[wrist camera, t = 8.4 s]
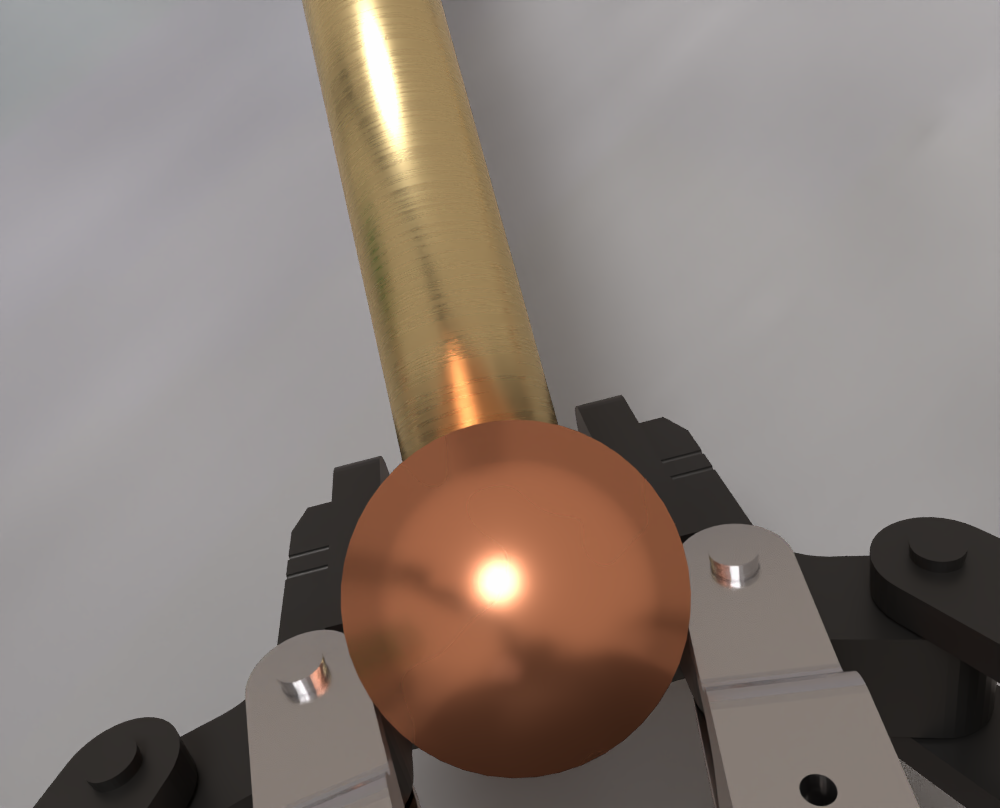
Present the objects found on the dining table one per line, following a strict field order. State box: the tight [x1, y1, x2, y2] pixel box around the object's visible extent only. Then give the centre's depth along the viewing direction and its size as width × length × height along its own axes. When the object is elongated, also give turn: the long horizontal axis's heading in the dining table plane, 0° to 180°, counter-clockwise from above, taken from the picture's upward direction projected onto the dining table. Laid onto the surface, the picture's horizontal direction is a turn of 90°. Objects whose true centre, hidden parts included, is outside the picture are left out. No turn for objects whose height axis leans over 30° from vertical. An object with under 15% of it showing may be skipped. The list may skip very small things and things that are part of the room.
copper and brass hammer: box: [302, 0, 691, 778], centre depth 14 cm, size 20×3×9 cm, turn 14°
